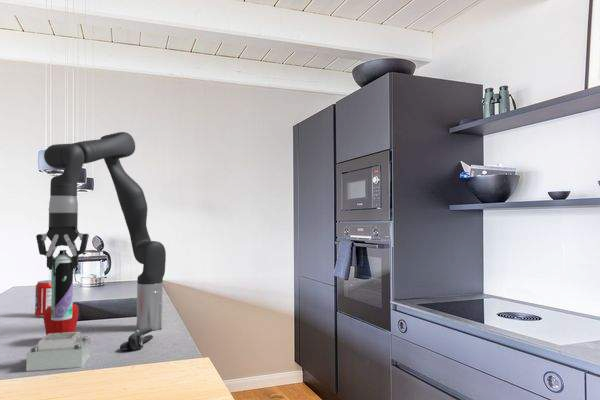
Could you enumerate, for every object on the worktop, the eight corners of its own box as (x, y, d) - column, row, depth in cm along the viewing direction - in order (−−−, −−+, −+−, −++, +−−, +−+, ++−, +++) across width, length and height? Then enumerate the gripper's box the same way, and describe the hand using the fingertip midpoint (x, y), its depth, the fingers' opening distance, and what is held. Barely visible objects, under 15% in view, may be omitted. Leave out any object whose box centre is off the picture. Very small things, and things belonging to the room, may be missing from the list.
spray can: (63, 321, 127) (64, 250, 128) (46, 320, 128) (47, 250, 129) (76, 316, 132) (77, 249, 133) (60, 316, 134) (61, 249, 134)
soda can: (49, 318, 188) (49, 282, 189) (30, 317, 188) (31, 282, 189) (59, 314, 196) (60, 279, 197) (41, 314, 196) (42, 279, 197)
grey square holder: (90, 354, 137) (91, 329, 137) (81, 367, 126) (82, 340, 126) (40, 358, 134) (40, 332, 134) (26, 371, 122) (26, 343, 122)
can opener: (138, 353, 139) (138, 335, 139) (116, 353, 139) (117, 334, 140) (161, 338, 156) (161, 322, 157) (142, 337, 157) (142, 321, 157)
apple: (72, 335, 160) (73, 297, 160) (82, 341, 152) (83, 301, 153) (39, 341, 152) (40, 301, 153) (48, 347, 145) (49, 305, 146)
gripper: (92, 211, 137) (91, 267, 136) (40, 211, 133) (39, 268, 133) (87, 211, 130) (86, 269, 129) (32, 211, 126) (30, 271, 125)
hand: (62, 268), depth 131 cm, fingers closed on spray can, 5 cm apart
